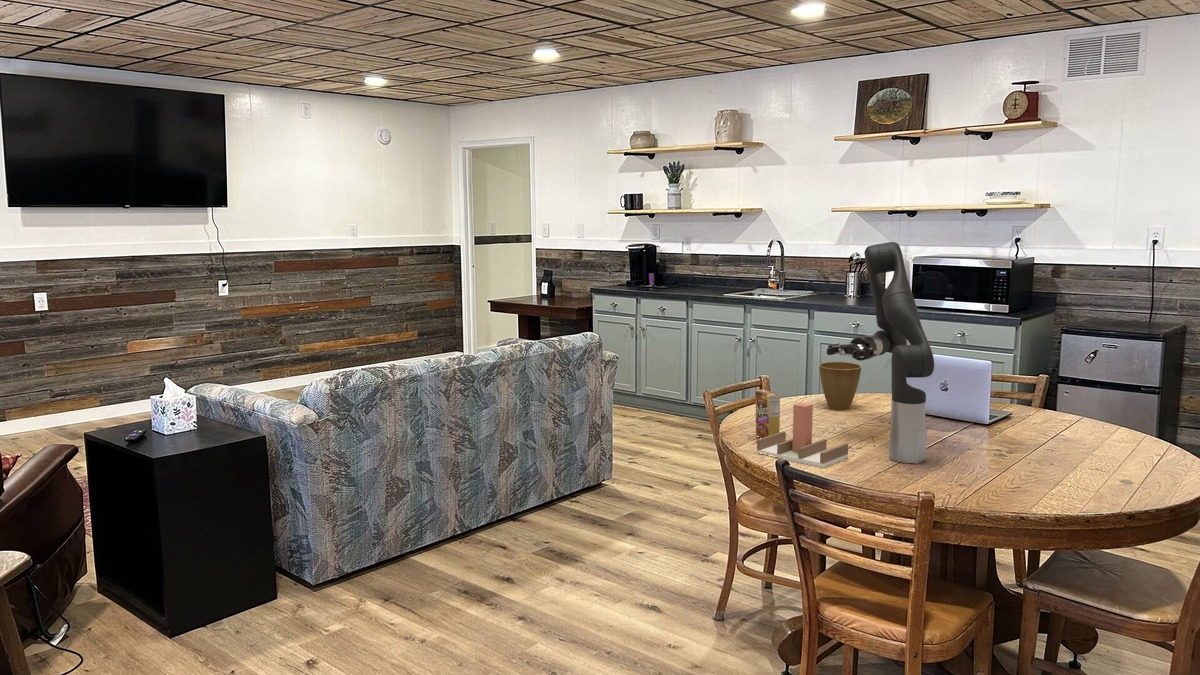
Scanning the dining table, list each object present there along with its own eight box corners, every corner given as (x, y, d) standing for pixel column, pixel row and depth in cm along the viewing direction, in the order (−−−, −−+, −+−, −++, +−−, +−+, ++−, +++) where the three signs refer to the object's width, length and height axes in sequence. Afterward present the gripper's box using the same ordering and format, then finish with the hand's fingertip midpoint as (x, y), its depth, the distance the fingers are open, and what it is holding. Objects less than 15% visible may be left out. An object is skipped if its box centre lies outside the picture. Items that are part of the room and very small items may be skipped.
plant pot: (812, 404, 327) (813, 362, 325) (851, 403, 328) (853, 361, 326) (825, 413, 312) (826, 369, 310) (866, 412, 313) (867, 368, 311)
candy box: (754, 436, 280) (755, 389, 278) (766, 435, 281) (767, 388, 279) (767, 443, 271) (768, 395, 269) (779, 442, 273) (781, 394, 271)
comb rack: (847, 457, 255) (848, 443, 254) (823, 467, 245) (823, 453, 244) (782, 444, 270) (782, 431, 269) (756, 453, 260) (757, 439, 260)
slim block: (811, 451, 257) (812, 404, 256) (804, 453, 255) (805, 406, 253) (799, 448, 260) (800, 402, 258) (792, 451, 257) (793, 404, 255)
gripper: (846, 333, 285) (820, 338, 273) (887, 337, 275) (862, 343, 263) (845, 356, 286) (819, 362, 274) (886, 361, 276) (861, 368, 264)
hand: (840, 353), depth 269 cm, fingers open, 8 cm apart
